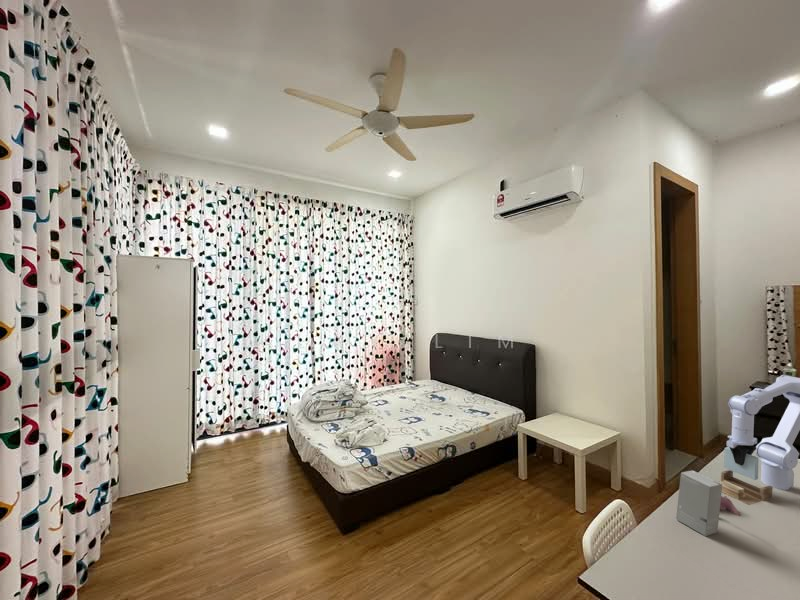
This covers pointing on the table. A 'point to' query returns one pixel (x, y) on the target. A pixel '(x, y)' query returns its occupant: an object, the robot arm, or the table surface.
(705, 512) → the skincare box
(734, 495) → the offcut stack
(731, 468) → the tall sheet
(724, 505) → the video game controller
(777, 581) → the table surface
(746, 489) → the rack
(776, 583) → the table surface
